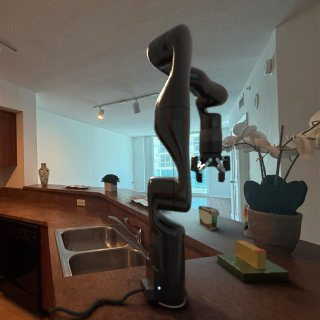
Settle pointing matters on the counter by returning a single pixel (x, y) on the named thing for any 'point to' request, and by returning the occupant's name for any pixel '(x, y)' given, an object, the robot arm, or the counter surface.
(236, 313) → the counter surface
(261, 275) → the holder base
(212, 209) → the food container
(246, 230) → the lotion bottle
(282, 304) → the counter surface
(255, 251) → the yellow rectangular block
